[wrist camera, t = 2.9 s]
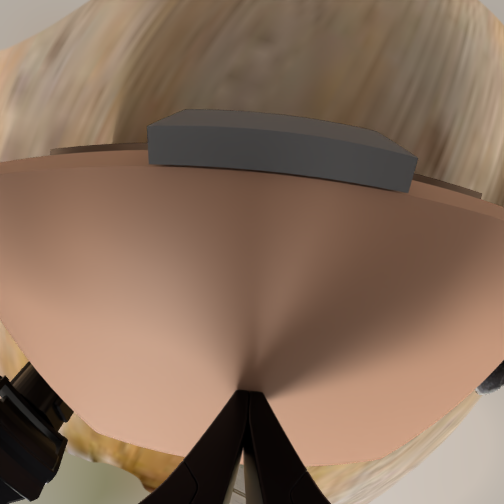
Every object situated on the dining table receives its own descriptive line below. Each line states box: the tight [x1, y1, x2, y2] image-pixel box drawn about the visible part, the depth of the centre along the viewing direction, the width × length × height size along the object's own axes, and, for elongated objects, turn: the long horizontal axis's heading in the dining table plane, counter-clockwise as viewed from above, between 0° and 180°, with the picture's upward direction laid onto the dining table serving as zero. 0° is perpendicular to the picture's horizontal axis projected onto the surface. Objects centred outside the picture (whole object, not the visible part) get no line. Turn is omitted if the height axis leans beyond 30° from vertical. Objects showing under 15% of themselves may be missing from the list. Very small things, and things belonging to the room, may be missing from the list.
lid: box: [0, 109, 504, 466], centre depth 10 cm, size 20×19×2 cm
